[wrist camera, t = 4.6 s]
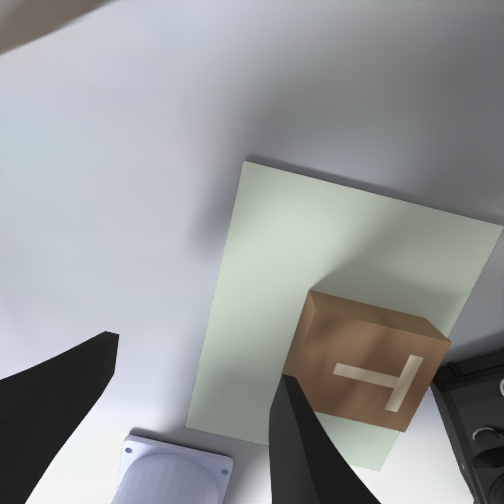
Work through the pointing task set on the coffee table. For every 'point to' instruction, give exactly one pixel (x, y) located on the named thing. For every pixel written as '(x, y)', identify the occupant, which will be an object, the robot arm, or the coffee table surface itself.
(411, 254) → the mat
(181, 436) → the coffee table surface
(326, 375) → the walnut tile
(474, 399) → the film camera
